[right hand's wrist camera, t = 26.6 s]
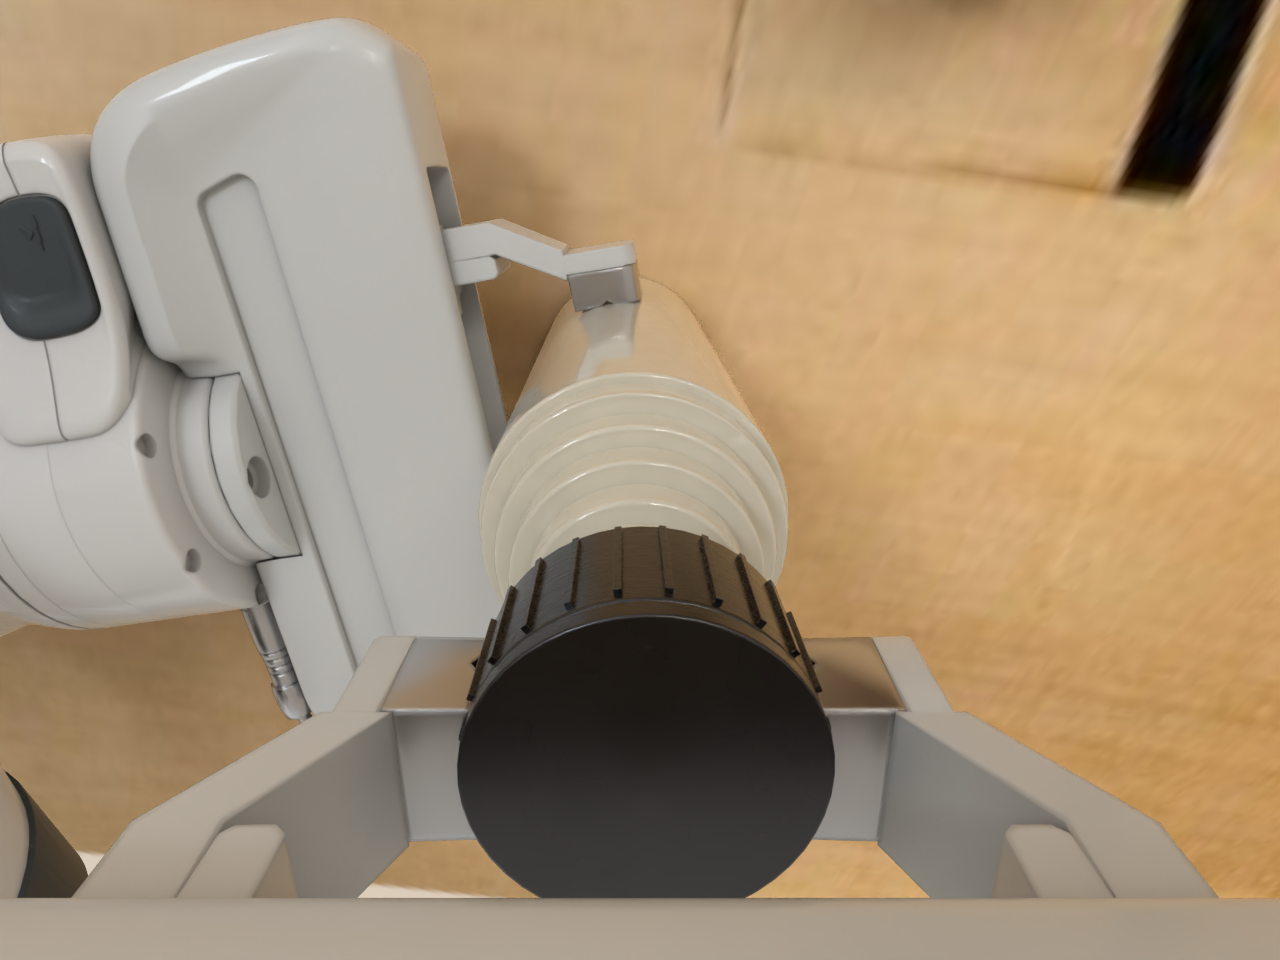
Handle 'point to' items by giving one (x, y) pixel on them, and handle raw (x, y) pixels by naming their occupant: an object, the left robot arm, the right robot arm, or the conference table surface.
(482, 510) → the bottle
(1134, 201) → the conference table surface
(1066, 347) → the conference table surface
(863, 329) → the conference table surface
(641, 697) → the cap
